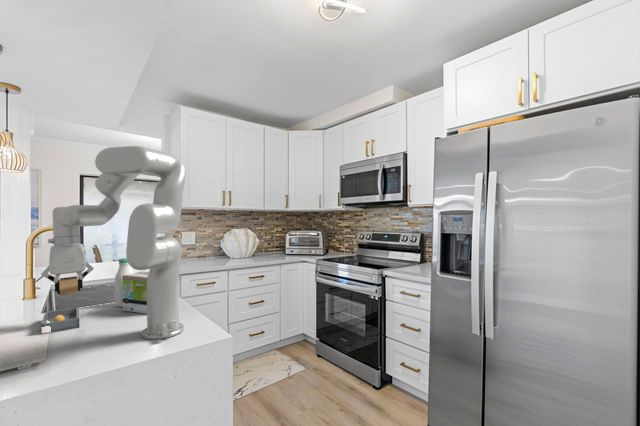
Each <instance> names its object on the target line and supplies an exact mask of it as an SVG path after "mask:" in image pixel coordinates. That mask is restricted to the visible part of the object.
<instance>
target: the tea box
mask: <svg viewBox="0 0 640 426" xmlns="http://www.w3.org/2000/svg"><path fill="white" fill-rule="evenodd" d="M148 273H149V271H144V270H141V271H137V272H134V273H133V274H129V275H125V276H122V278H123V279H122V283H123V307H122V311H123V312H132V313H139V314H145V315H147V277H148Z"/></svg>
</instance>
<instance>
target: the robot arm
mask: <svg viewBox="0 0 640 426" xmlns="http://www.w3.org/2000/svg"><path fill="white" fill-rule="evenodd" d="M94 159H95V160H94V164H95V167H96V168H97V170H98V171H99V172H100V173H101V174H100V175H99V176H98V177H97V178H96V180H95V181H94V186H95V188H96V189H97V191H98V192H99V193H100V194H102V195H103V196H104V199H103V200H102V201H101V202H100V203H99V204H96V205H94V204H93V205H92V204H91V205H90V204H89V205H88V204H75V205H74V204H72V205H69V206H57V207H54V208H53V209H52V232H53V233H52V235H53V237H52V238H48V239H47V243H48V244H53V245H52V246H50V248H49V249H50V250H49V259H48V262H49V263H48V264H49V265H48V266H47V267H46V268H45V269H44V270H43V271H42V272H41V274H40V275H41V276H42V277H44V278H46V279H48V280H49V281H51V282H53V283H54V292H57V295H60V284H59V280H60V278H61V275H65V274H74V273H76V276H77V277H78V292H80V291H81V289H84V288H83V286H84V285H83V279H84V278H85V277H87V275H88V274H90V273H91V272H92V271H94V267H93V266H92V265H91V264H89V262H88V261H86V258H87V257H86V250H85V246H84V244H83V243H81V227H94V226H95V227H96V226H97V227H98V226H103V225H106V224H107V223H108V222H110V221H111V220H112V219H113V218H114V217H115V215H116V214H117V213H118V212H119V210H120V208H121V201H122V199H121V195H122V194H123V193H124V191H126V190H127V188H128V187H129V186H130V185H131V184H132V182H134V181H135V179H136V178H138V176H139V175H143V176H149V177H150V176H151V177H158V178H160V179H159V180H158V182H157V184H156V186H155V188H154V190H153V191H154V192H153V201H152V203H142V204H139V205H138V206H136V207H135V208H134V209H133V210H132V212H131V213H130V217H129V221H128V226H127V227H128V228H127V238H126V239H127V240H126V249H125V251H126V252H125V255H126V257H125V258H127V261H128V263H129V265H130V266H131V268H132V269H134V270H137V271H145V270H147V271H148V270H149V271H148V272H149V273H148V277H147V314H146V327H145V328H144V329H142V331H141V337H142V338H144V339H147V340H161V339H166V338H171V337H175V336H177V335H180V334H181V333H182V332H183V331H184V330H185V325H184V324H183V323H181V322H180V265H181V260H182V252H183V251H182V250H183V249H182V245H181V244H180V242H179V241H178V239H176V238H175V237H171V236H168V235H167V236H164V235H163V236H158V234H166V233H172V232H175V231H176V230H178V228H179V227H180V223H181V216H182V207H183V193H184V188H185V183H186V176H187V175H186V168H185V166H184V164H183V162H182V161H181V160H180V159H179V158H177V157H176V156H174V155H172V154H170V153H167V152H165V151H161V150H156V149H152V148H148V147H144V146H140V145H138V146H137V145H130V146H129V145H128V146H114V147H113V146H112V147H110V146H109V147H107V148H104V149H102V150H101V151H99V152H98V153H97V155H96V157H95V158H94ZM86 268H87V270H86ZM82 272H83V273H82ZM49 273H50V274H49ZM54 275H55V276H54Z"/></svg>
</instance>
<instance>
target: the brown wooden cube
mask: <svg viewBox="0 0 640 426" xmlns="http://www.w3.org/2000/svg"><path fill="white" fill-rule="evenodd" d="M78 278H79V277H78V275H76V276H68V277H67V276H66V277H59V284H60V294H59V296H65V295H72V294H77V293H79V291H78Z"/></svg>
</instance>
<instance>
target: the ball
mask: <svg viewBox="0 0 640 426" xmlns="http://www.w3.org/2000/svg"><path fill="white" fill-rule="evenodd" d="M62 320H65V318H64V316H63V315H58V316H56V317H55V318H54V322H56V321H62Z"/></svg>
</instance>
